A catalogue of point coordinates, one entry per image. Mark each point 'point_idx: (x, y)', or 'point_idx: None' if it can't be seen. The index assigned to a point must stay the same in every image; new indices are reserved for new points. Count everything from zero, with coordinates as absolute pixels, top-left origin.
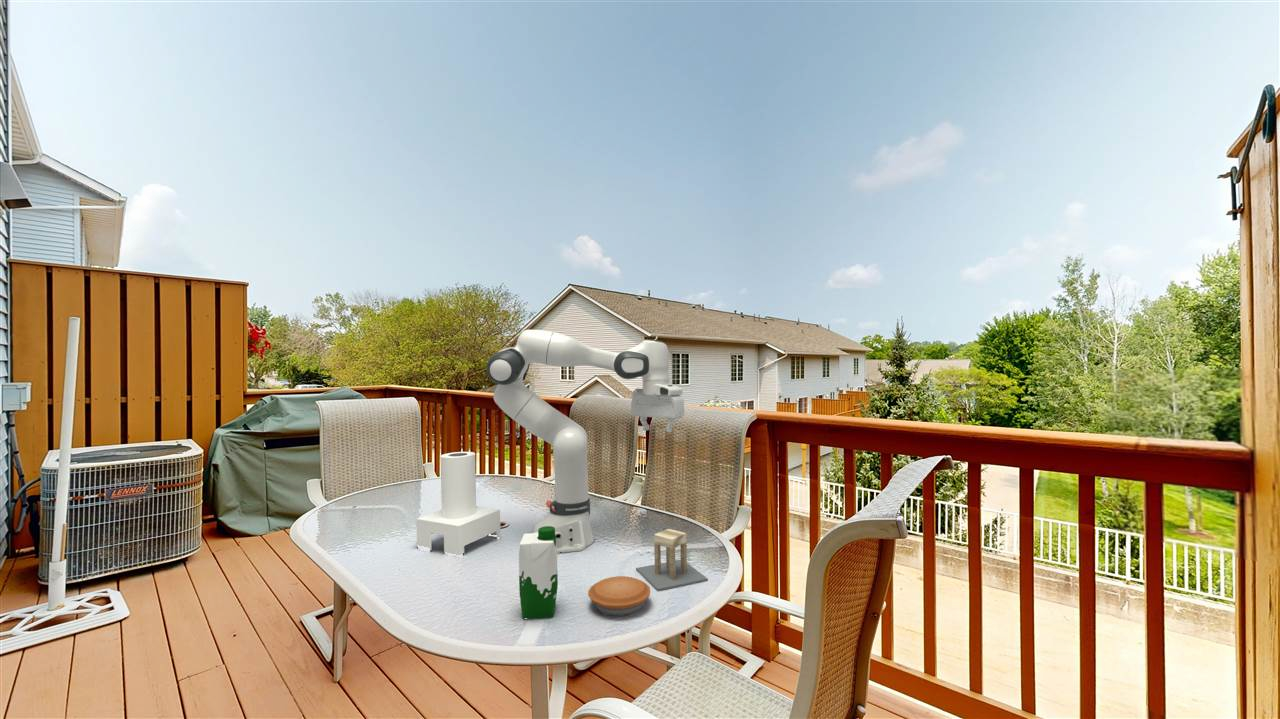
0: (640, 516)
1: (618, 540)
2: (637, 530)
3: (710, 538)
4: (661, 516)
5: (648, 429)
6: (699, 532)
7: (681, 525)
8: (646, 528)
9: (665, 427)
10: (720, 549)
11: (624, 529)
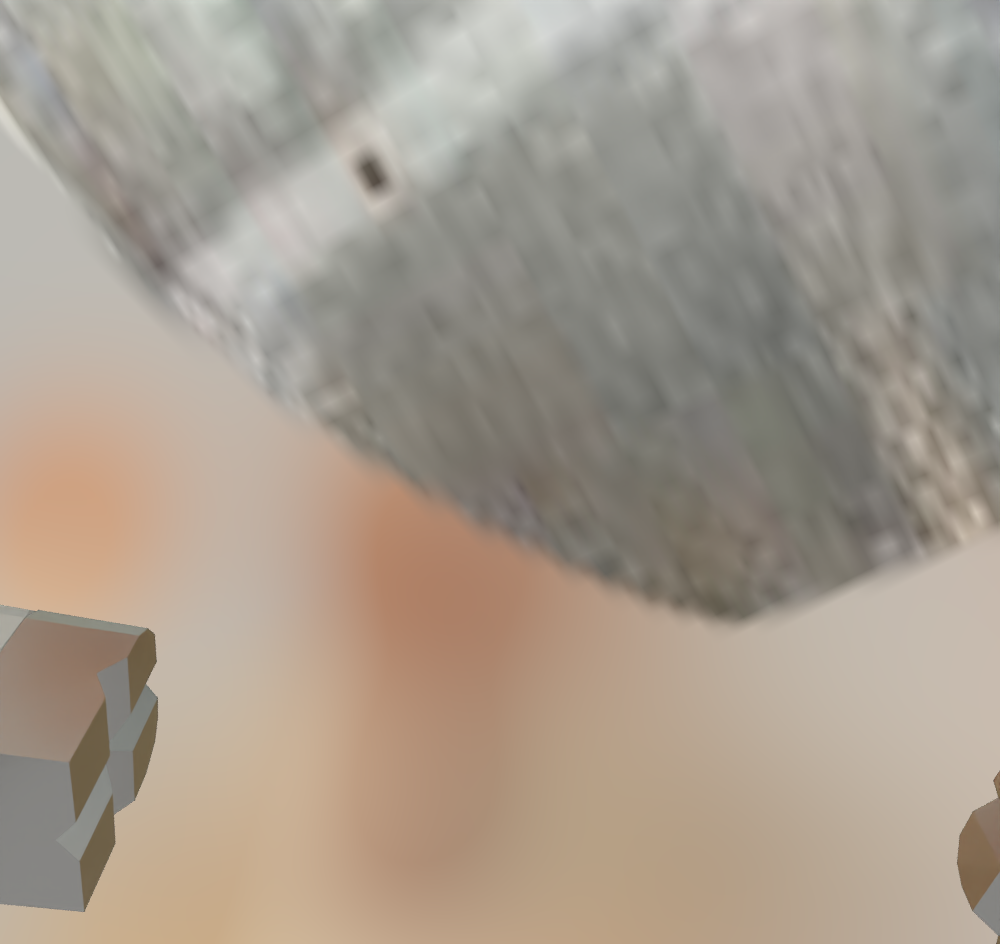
0: (911, 532)
1: (875, 22)
2: (820, 287)
3: (298, 373)
4: (772, 585)
5: (977, 837)
6: (413, 436)
7: (577, 497)
8: (774, 351)
9: (40, 741)
10: (138, 226)
11: (923, 261)
